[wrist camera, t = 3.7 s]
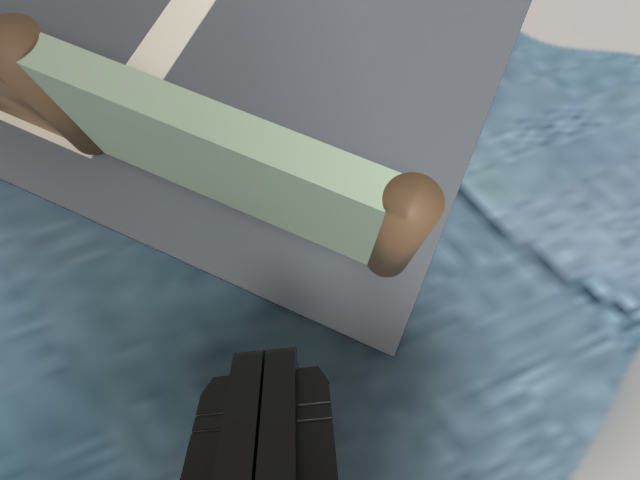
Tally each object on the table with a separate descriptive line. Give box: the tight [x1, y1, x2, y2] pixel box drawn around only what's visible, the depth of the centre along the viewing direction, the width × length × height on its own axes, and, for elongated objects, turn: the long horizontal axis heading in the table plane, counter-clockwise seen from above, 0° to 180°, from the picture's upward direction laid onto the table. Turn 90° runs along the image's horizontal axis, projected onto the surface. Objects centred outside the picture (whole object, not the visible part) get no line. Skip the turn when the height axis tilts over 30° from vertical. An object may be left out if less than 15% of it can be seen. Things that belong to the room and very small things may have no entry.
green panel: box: [0, 13, 445, 277], centre depth 18 cm, size 18×2×7 cm, turn 66°
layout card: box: [0, 0, 532, 357], centre depth 25 cm, size 23×33×1 cm
